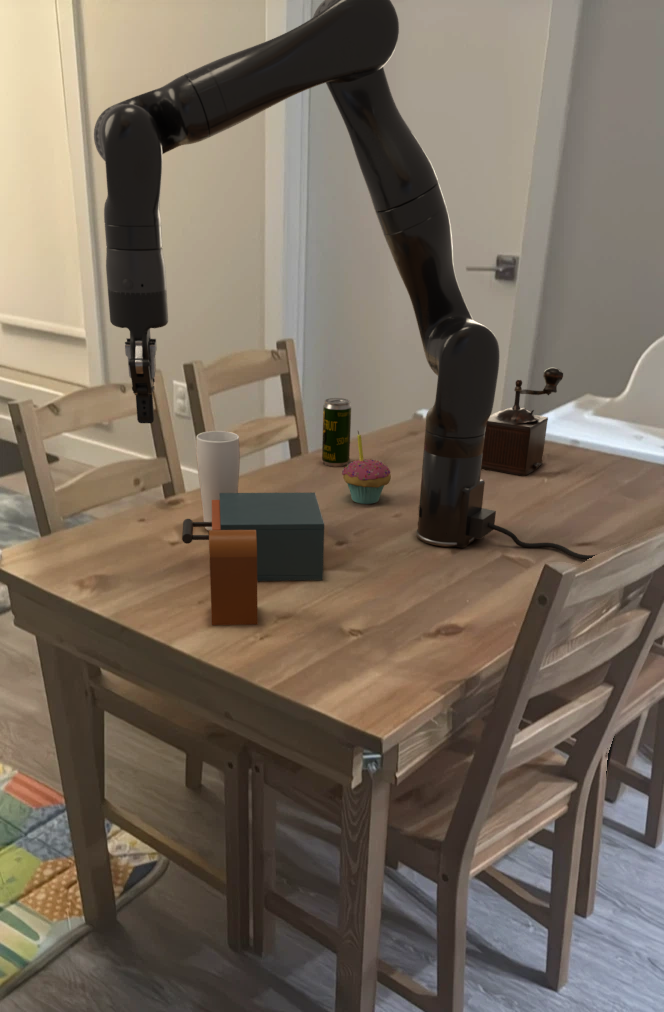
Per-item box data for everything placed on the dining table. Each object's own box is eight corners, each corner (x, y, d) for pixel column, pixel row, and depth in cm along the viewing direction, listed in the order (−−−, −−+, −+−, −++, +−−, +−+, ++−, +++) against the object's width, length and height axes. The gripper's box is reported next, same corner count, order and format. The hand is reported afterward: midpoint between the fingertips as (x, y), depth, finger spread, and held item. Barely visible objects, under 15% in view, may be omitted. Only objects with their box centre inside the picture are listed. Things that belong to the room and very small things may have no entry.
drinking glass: (234, 537, 158) (232, 443, 150) (193, 533, 159) (189, 439, 151) (245, 523, 163) (244, 432, 156) (206, 519, 164) (203, 428, 157)
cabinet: (222, 581, 142) (220, 524, 138) (221, 546, 154) (219, 492, 150) (322, 580, 144) (324, 523, 139) (314, 545, 156) (315, 492, 151)
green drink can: (333, 457, 198) (335, 396, 192) (354, 463, 195) (357, 401, 189) (316, 463, 194) (317, 400, 188) (337, 468, 191) (339, 405, 185)
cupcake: (334, 503, 174) (336, 434, 168) (351, 489, 181) (354, 423, 174) (380, 510, 171) (384, 441, 165) (396, 496, 178) (400, 429, 172)
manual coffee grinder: (528, 477, 190) (541, 380, 181) (475, 467, 195) (485, 373, 186) (554, 458, 202) (567, 367, 193) (503, 449, 207) (514, 360, 197)
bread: (256, 608, 135) (255, 524, 129) (257, 624, 130) (256, 537, 124) (211, 609, 134) (208, 524, 128) (211, 625, 130) (208, 538, 124)
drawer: (183, 575, 142) (180, 529, 138) (184, 542, 153) (182, 500, 149) (306, 573, 144) (307, 528, 140) (299, 541, 155) (300, 499, 151)
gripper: (164, 294, 122) (172, 434, 131) (168, 279, 134) (174, 410, 142) (102, 293, 121) (114, 434, 130) (111, 278, 133) (122, 410, 142)
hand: (146, 421), depth 136 cm, fingers closed
